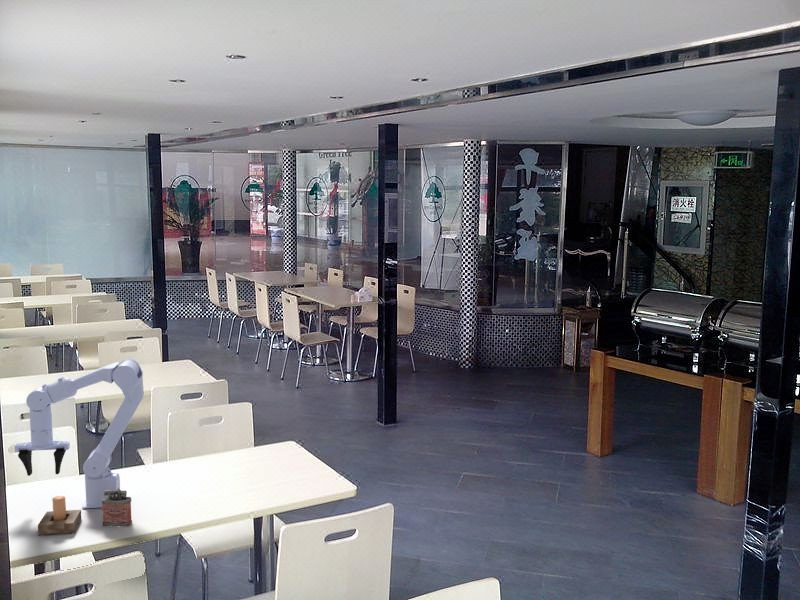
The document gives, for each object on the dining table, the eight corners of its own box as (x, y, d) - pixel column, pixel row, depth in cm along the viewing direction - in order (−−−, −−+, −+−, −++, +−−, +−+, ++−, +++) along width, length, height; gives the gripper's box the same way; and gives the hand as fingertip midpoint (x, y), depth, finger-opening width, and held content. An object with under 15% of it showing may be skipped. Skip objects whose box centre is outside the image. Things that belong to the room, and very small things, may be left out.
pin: (67, 522, 211) (66, 495, 210) (65, 527, 208) (64, 499, 207) (55, 523, 211) (53, 496, 210) (52, 528, 208) (51, 500, 207)
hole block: (81, 519, 215) (80, 509, 214) (73, 533, 206) (73, 523, 206) (47, 521, 213) (46, 511, 213) (38, 535, 204) (37, 525, 204)
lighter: (133, 521, 214) (132, 487, 213) (130, 526, 211) (128, 492, 209) (104, 521, 214) (103, 487, 212) (100, 526, 210) (99, 492, 209)
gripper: (10, 434, 215) (12, 480, 217) (64, 432, 218) (66, 477, 220) (17, 426, 222) (20, 471, 224) (70, 424, 225) (72, 468, 227)
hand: (43, 473), depth 222 cm, fingers open, 7 cm apart
